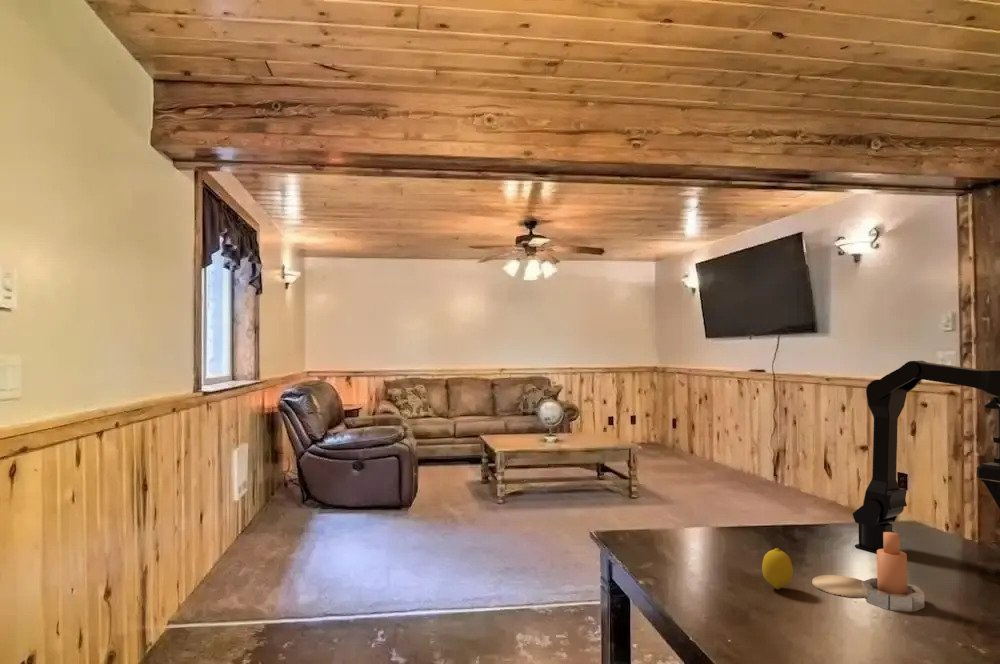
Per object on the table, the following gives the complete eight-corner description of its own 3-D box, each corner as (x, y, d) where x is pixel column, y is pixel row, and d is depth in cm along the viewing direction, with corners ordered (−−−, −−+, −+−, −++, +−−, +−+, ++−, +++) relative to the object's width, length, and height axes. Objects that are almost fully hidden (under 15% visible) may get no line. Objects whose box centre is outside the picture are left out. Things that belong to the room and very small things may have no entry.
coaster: (800, 583, 131) (800, 581, 131) (833, 573, 137) (833, 571, 137) (853, 601, 122) (853, 599, 122) (886, 590, 128) (886, 588, 128)
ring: (853, 597, 124) (853, 584, 124) (881, 588, 129) (881, 575, 129) (905, 615, 116) (904, 601, 116) (932, 604, 121) (932, 590, 121)
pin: (872, 599, 123) (871, 532, 123) (886, 594, 126) (885, 528, 126) (898, 608, 119) (897, 539, 119) (913, 602, 121) (911, 535, 122)
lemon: (791, 585, 130) (790, 545, 130) (794, 596, 125) (793, 554, 125) (761, 582, 132) (761, 542, 132) (763, 592, 127) (762, 551, 127)
